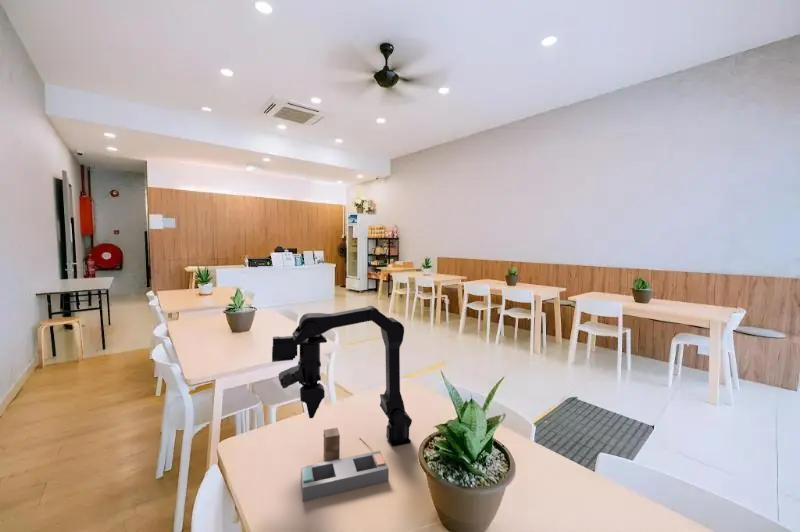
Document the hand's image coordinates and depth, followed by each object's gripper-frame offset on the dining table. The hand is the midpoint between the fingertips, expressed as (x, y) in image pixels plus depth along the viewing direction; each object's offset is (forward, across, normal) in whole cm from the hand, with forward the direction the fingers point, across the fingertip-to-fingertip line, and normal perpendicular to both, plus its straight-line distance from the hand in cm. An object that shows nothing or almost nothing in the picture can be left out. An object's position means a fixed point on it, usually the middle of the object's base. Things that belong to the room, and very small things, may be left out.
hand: (309, 410), depth 96 cm
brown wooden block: (+14, +3, +6) cm, 16 cm away
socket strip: (+14, +13, +8) cm, 21 cm away
